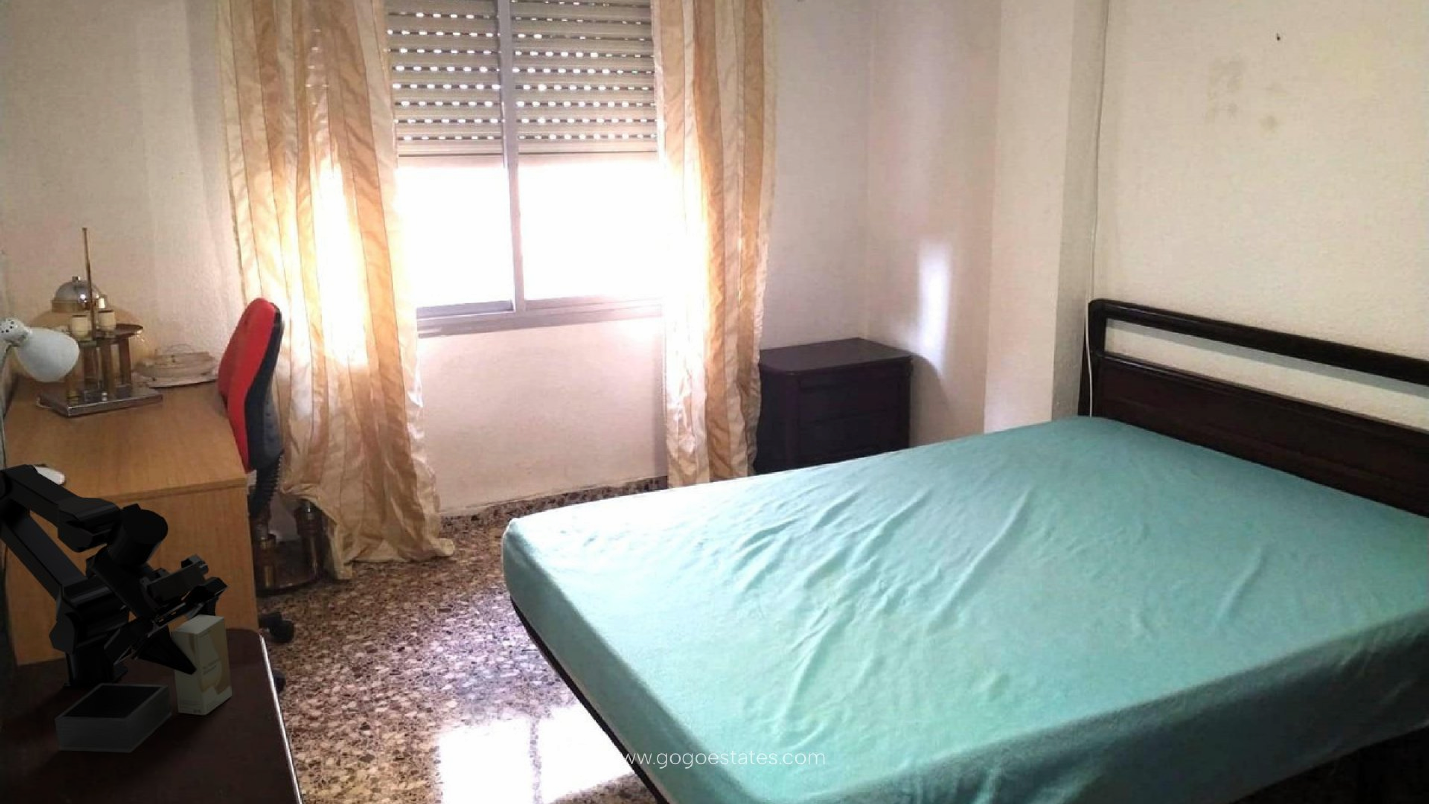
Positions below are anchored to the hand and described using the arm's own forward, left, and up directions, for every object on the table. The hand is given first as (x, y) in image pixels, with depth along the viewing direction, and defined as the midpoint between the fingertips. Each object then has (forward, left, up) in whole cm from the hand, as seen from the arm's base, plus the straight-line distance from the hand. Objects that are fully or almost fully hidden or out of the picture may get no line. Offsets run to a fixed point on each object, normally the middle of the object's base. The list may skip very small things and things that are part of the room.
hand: (210, 661), depth 149 cm
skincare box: (-1, 0, -7) cm, 7 cm away
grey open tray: (-9, -8, -7) cm, 14 cm away
